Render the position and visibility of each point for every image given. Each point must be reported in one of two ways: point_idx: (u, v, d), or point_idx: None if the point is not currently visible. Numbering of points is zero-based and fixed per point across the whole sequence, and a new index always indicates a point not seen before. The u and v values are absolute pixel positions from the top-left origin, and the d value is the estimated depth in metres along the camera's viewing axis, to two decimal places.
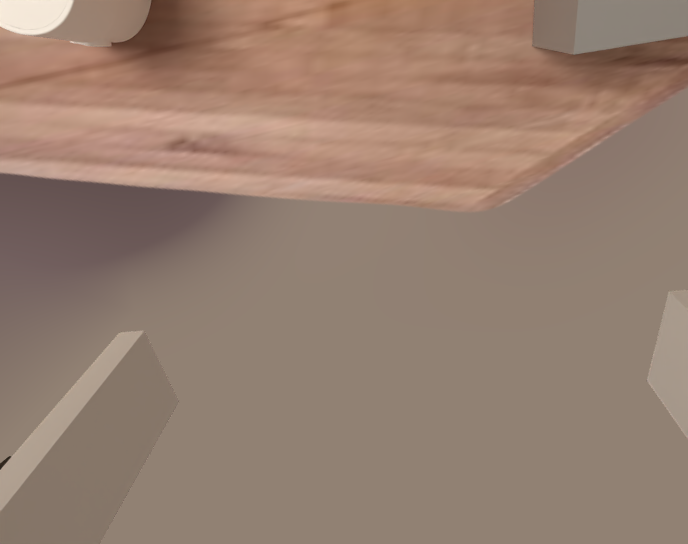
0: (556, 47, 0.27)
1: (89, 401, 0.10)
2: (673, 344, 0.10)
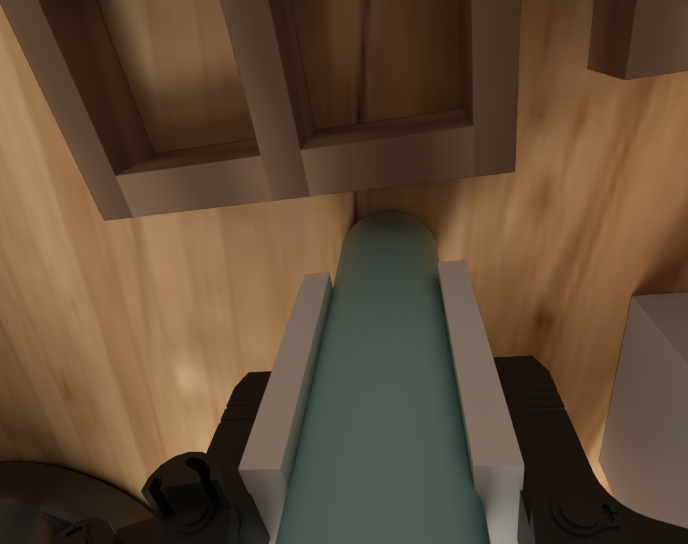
0: None
1: (316, 324, 0.11)
2: None
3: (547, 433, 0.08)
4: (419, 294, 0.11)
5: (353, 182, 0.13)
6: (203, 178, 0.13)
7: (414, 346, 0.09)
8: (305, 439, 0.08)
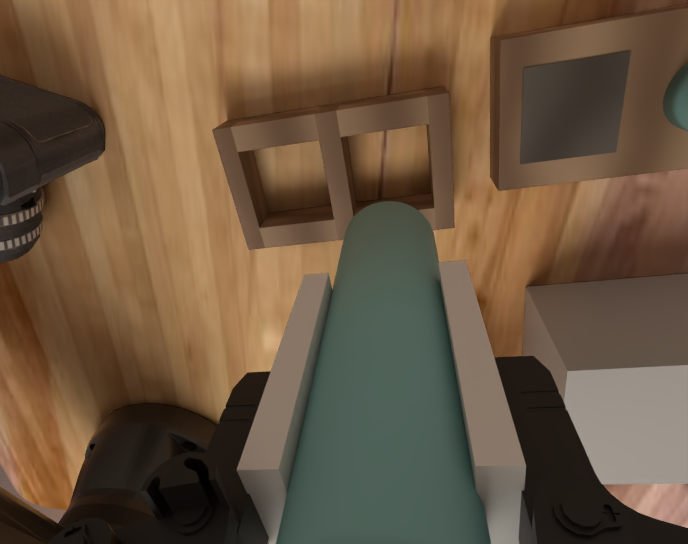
0: None
1: (315, 324, 0.11)
2: None
3: (548, 433, 0.08)
4: (417, 274, 0.12)
5: None
6: (304, 229, 0.27)
7: (412, 318, 0.10)
8: (314, 398, 0.09)
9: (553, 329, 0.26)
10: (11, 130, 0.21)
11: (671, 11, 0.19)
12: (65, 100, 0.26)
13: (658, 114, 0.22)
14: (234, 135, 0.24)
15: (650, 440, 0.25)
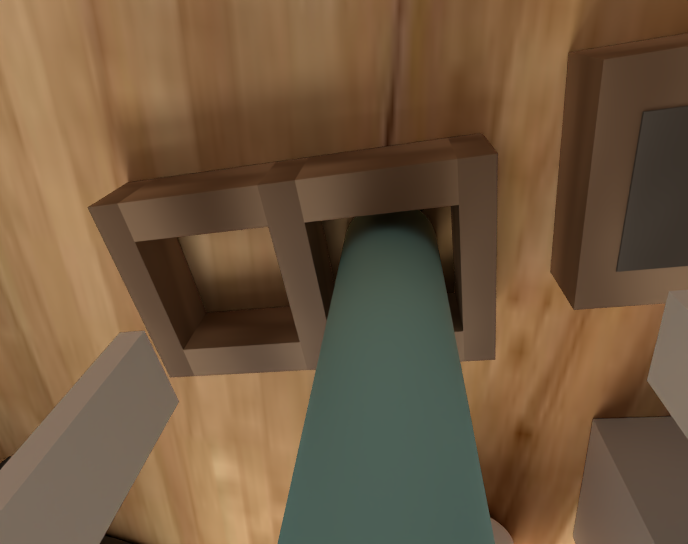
0: None
1: (89, 401, 0.10)
2: (673, 344, 0.10)
3: None
4: (420, 276, 0.12)
5: None
6: (253, 353, 0.17)
7: (415, 321, 0.10)
8: (314, 404, 0.09)
9: (655, 523, 0.16)
10: None
11: None
12: None
13: None
14: (125, 216, 0.14)
15: None
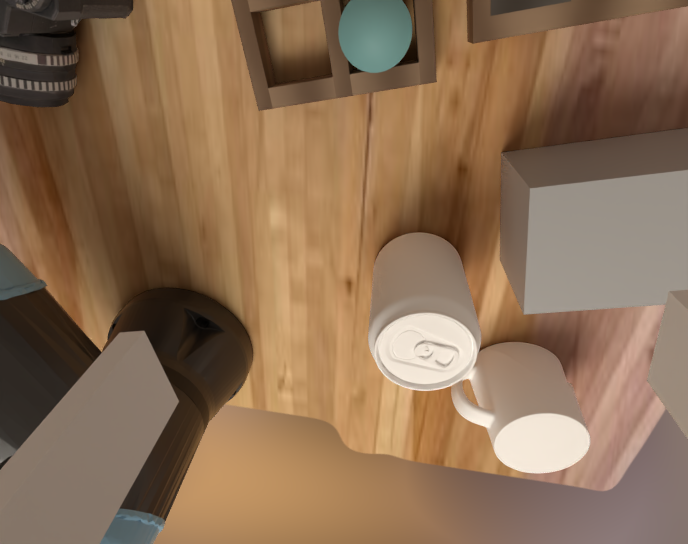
0: None
1: (89, 401, 0.10)
2: (673, 344, 0.10)
3: None
4: None
5: (371, 88, 0.31)
6: (307, 88, 0.31)
7: None
8: None
9: (521, 170, 0.30)
10: None
11: None
12: None
13: None
14: None
15: (603, 260, 0.29)
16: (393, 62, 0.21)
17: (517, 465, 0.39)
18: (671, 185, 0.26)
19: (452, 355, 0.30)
